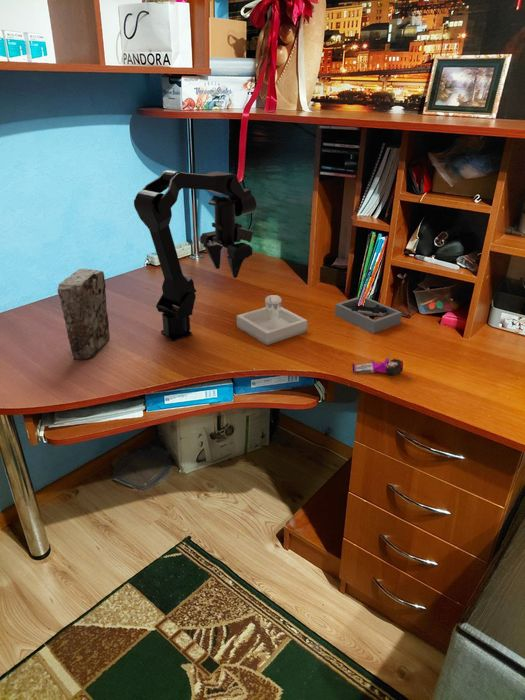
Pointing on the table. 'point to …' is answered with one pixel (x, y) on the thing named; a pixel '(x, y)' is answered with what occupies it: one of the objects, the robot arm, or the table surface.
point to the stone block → (85, 312)
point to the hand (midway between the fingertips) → (226, 272)
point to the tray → (258, 328)
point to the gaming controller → (369, 310)
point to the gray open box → (365, 322)
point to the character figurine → (380, 367)
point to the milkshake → (273, 311)
